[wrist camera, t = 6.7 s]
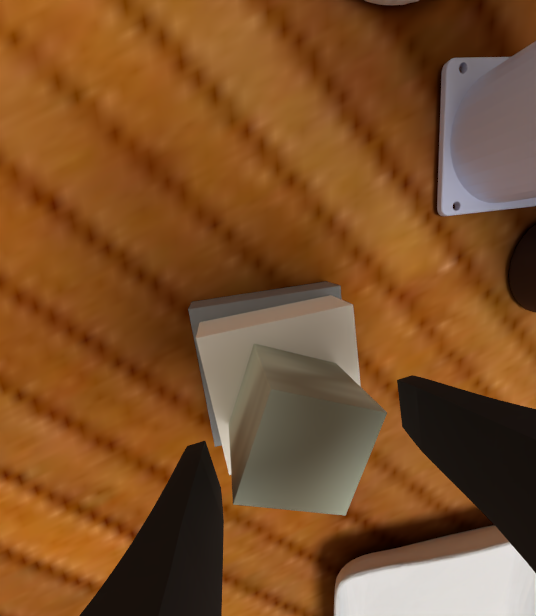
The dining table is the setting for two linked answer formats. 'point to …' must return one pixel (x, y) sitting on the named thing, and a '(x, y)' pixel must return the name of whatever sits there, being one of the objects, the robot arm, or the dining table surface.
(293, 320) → the cream slab
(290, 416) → the sage cube
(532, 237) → the bottle
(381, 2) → the ramekin
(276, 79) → the dining table surface
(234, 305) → the charcoal slab
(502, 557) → the salad plate
